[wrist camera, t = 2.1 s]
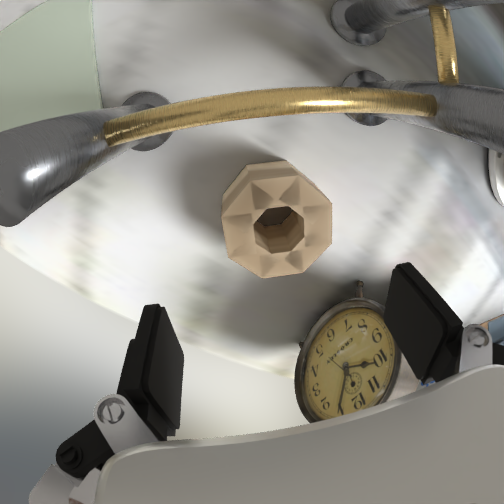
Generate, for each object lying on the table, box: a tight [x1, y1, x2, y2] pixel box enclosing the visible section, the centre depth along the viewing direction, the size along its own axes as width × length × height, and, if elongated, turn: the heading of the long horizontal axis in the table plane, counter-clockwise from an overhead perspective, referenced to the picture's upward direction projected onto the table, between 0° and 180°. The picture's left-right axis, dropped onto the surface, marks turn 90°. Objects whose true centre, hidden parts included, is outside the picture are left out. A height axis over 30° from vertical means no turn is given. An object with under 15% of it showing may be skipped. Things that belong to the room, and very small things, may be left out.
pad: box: [0, 0, 103, 132], centre depth 13 cm, size 12×12×1 cm
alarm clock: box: [294, 281, 419, 423], centre depth 20 cm, size 11×5×16 cm, turn 147°
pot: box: [221, 160, 332, 279], centre depth 19 cm, size 6×6×4 cm
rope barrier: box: [0, 0, 504, 227], centre depth 9 cm, size 19×10×14 cm, turn 96°
